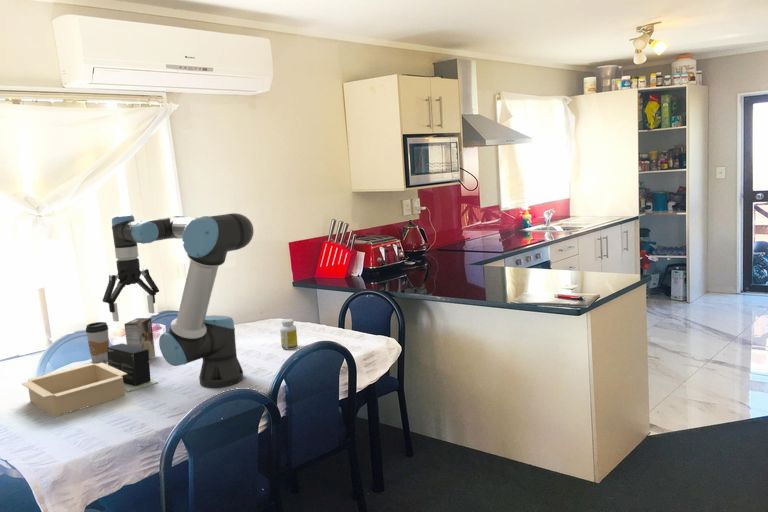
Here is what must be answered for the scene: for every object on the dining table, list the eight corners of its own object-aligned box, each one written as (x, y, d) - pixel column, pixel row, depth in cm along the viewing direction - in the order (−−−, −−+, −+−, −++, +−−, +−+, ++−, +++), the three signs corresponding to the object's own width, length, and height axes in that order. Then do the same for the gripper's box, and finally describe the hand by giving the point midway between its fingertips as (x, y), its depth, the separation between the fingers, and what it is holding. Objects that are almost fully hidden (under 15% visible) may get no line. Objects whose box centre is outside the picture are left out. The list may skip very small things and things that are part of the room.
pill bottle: (300, 346, 264) (298, 319, 262) (290, 351, 259) (288, 323, 257) (288, 344, 268) (286, 317, 266) (278, 349, 262) (276, 321, 260)
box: (152, 381, 229) (148, 348, 227) (135, 386, 224) (131, 353, 222) (125, 373, 239) (122, 342, 237) (108, 378, 234) (105, 346, 232)
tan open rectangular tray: (133, 395, 217) (131, 375, 216) (49, 420, 198) (47, 399, 197) (101, 379, 235) (98, 361, 234) (21, 401, 216) (19, 381, 215)
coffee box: (141, 356, 262) (137, 317, 259) (155, 356, 260) (151, 317, 258) (128, 363, 253) (123, 323, 250) (143, 363, 251) (138, 323, 249)
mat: (158, 382, 228) (158, 381, 228) (128, 392, 220) (127, 390, 220) (131, 371, 243) (131, 370, 242) (102, 379, 235) (101, 378, 235)
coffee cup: (84, 363, 255) (80, 326, 253) (101, 356, 263) (96, 321, 261) (100, 364, 252) (96, 327, 250) (116, 358, 260) (112, 322, 257)
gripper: (154, 252, 240) (160, 308, 243) (87, 263, 222) (95, 323, 225) (164, 253, 235) (170, 310, 238) (97, 264, 217) (105, 326, 220)
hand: (134, 316), depth 232 cm, fingers open, 13 cm apart
